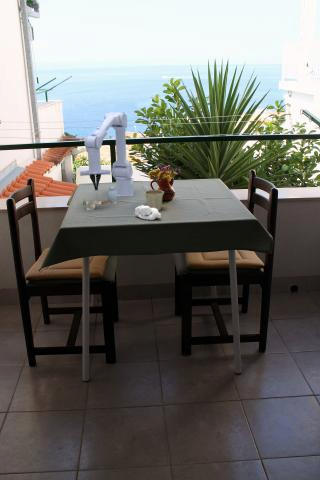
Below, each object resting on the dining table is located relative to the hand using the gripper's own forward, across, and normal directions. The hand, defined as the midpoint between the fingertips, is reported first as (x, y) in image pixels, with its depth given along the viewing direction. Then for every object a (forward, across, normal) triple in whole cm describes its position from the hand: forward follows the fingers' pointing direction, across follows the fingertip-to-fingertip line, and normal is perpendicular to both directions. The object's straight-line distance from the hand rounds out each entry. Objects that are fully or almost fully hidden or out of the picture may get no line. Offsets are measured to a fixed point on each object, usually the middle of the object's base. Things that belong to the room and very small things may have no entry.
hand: (96, 189), depth 240 cm
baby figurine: (+10, +23, -18) cm, 31 cm away
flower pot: (+10, +28, -5) cm, 30 cm away
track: (+10, +1, +10) cm, 14 cm away
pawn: (+10, +8, +10) cm, 16 cm away
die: (+10, -3, 0) cm, 10 cm away
